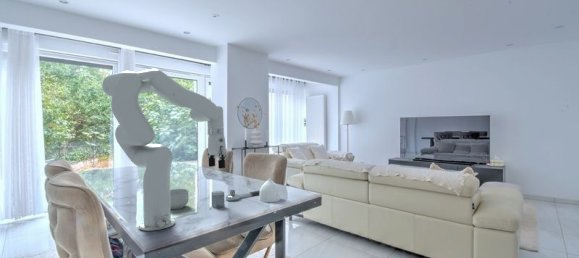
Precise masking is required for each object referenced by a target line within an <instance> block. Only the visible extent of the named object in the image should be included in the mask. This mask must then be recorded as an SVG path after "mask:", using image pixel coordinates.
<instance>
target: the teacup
mask: <svg viewBox="0 0 579 258" xmlns="http://www.w3.org/2000/svg"><path fill="white" fill-rule="evenodd" d="M188 202H189V189H186V188H173V189H170V210H179V209H182V208H184V207H185V206H186V205H188Z"/></svg>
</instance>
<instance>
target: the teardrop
mask: <svg viewBox="0 0 579 258" xmlns="http://www.w3.org/2000/svg"><path fill="white" fill-rule="evenodd" d="M259 190H260V193H259V195H258V196H259V197H258V200H259V201H260V202H263V203H275V202H278V201H280V200H281V194H280V193H281V192H280V191H281V190H280V188H279V186H278V184H277V183H275V182H274V181H273V180H272V179H271V177H268V179H267V180H266V181H265V182H264V183H262V185H261V187H260V189H259Z"/></svg>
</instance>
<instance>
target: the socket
mask: <svg viewBox="0 0 579 258" xmlns="http://www.w3.org/2000/svg"><path fill="white" fill-rule="evenodd" d="M211 207H212V208H215V209H220V208H224V207H225V191H222V190H215V191H211ZM219 207H220V208H219Z"/></svg>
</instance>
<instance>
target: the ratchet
mask: <svg viewBox="0 0 579 258" xmlns="http://www.w3.org/2000/svg"><path fill="white" fill-rule="evenodd" d="M259 193H260V189H258V190H255V191H250V192H247V193H243V194H236V190H235V189H230V190H229V194H226V195H225V201H226V202H236V201H240V200H241V199H246V198H249V197H254V196H255V197H256V196H259Z"/></svg>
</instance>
